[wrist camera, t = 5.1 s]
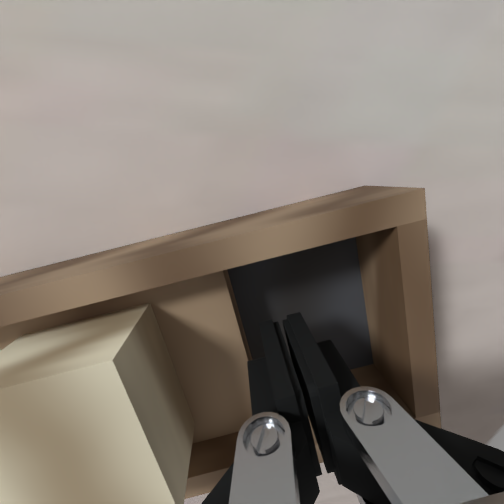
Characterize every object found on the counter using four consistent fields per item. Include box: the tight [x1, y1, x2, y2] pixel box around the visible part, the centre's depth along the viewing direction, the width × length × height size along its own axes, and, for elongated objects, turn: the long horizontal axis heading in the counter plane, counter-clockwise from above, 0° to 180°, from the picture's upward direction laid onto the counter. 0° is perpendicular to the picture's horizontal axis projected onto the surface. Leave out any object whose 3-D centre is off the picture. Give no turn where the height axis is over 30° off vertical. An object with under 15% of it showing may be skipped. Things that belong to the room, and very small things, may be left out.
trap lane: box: [0, 186, 441, 499], centre depth 12 cm, size 30×10×4 cm, turn 103°
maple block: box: [0, 303, 195, 504], centre depth 10 cm, size 5×6×4 cm
